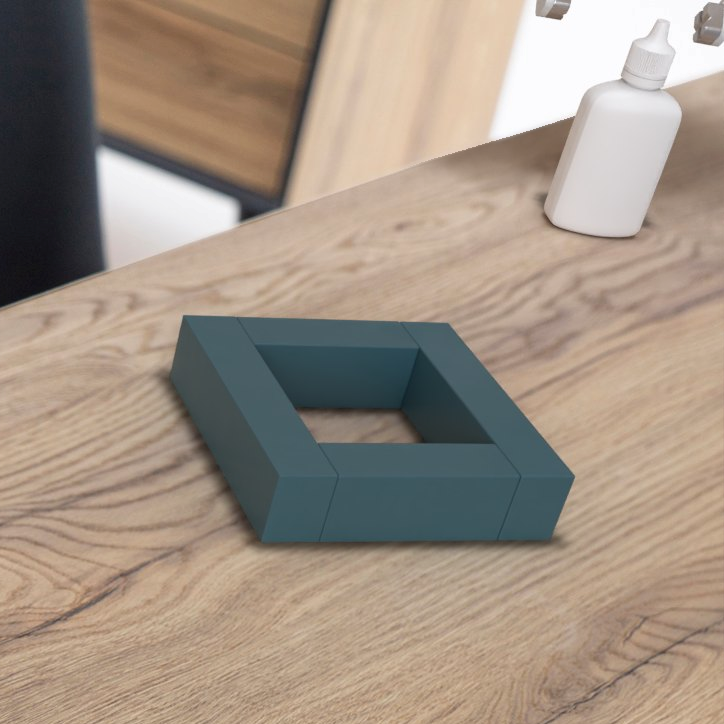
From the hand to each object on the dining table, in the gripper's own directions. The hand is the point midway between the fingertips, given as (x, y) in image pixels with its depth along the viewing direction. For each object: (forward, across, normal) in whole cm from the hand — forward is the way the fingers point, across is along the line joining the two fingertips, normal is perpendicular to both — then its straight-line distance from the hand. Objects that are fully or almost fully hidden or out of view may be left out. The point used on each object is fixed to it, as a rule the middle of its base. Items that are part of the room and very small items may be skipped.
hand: (631, 27), depth 100 cm
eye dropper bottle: (+10, 0, -4) cm, 11 cm away
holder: (+34, +18, +19) cm, 43 cm away
